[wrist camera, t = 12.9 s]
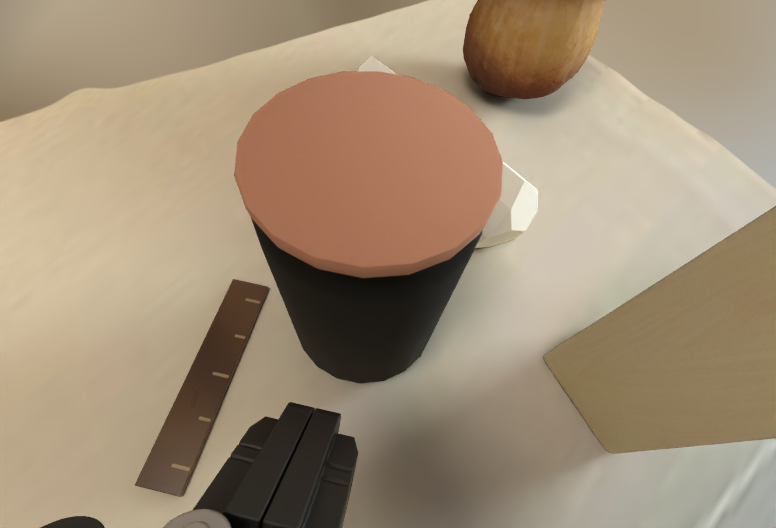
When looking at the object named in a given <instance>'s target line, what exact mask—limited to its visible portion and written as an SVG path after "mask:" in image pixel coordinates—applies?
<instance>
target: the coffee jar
mask: <svg viewBox="0 0 776 528" xmlns="http://www.w3.org/2000/svg"><path fill="white" fill-rule="evenodd" d="M502 170H503V161H502V159H501V156H500V153H499V151H498V148H497V145H496V142H495V140H494V137H493V134H492V133H491V132H490V130H489V129H488V128H487V127H486V126H485V124H484V123H483V122H482V121H481V119H480V118H479V117H478V116H477V115H476V113H475V112H474V111H473V110H472V109H471V108H469V107H468V106H466V105H465V104H464V103H462V102H461V101H459V100H458V99H456V98H455V97H454V96H452V95H451V94H449V93H448V92H446V91H445V90H442V89H440V88H437V87H435V86H432V85H430V84H428V83H425V82H423V81H420V80H418V79H415V78H412V77H407V76H401V75H396V74H390V73H385V72H380V71H360V72H339V73H334V74H330V75H325V76H320V77H316V78H311V79H308V80H306V81H303V82H301V83H299V84H297V85H295V86H293V87H290V88H288V89H286V90H284V91H282V92H280V93H278V94H277V95H275V96H274V97H273V98H272V99H271V100H270V101H268V102H267V103H266V104H265V105H264V106H263V107H261V108H260V109H259V110H258V111H257V112H256V113H254V114H253V116H252V118H251V119H250V121H249V123H248V125H247V126H246V128H245V130H244V132H243V133H242V135H241V137H240V139H239V140H238V145H237V154H236V164H235V173H234V176H235V179H236V181H237V184H238V187H239V190H240V193H241V196H242V199H243V201H244V204H245V207H246V209H247V211H248V213H249V214H250V216H251V219H252V222H253V225H254V228H255V230H256V233H257V236H258V239H259V242H260V244H261V247H262V250H263V252H264V255H265V257H266V260H267V262H268V264H269V267H270V269H271V272H272V274H273V277H274V279H275V281H276V284H277V286H278V289H279V291H280V294H281V296H282V298H283V301H284V303H285V306H286V308H287V311H288V313H289V316H290V318H291V320H292V323H293V325H294V328H295V330H296V333H297V335H298V337H299V340H300V342H301V345H302V347H303V350H304V351H305V352H306V353H307V354H308V356H309V357H310V358H311V359H312V360H313V362H314V363H315V364H316V365H317V366H318V367H319V368H321V369H322V370H324V371H326V372H327V373H329V374H331V375H332V376H334V377H336V378H338V379H343V380H347V381H352V382H356V383H368V382H377V381H384V380H386V379H388V378H391V377H393V376H395V375H397V374H399V373H402V372H404V371H405V370H406V369H407V368H408V367H409V366H410V365H411V364H412V363H414V362H415V361H416V360H417V359H418V358H419V357H420V356H421V354H422V352H423V350H424V348H425V346H426V344H427V342H428V340H429V338H430V337H431V335H432V333H433V331H434V329H435V327H436V325H437V323H438V321H439V319H440V317H441V315H442V313H443V311H444V309H445V307H446V305H447V303H448V301H449V299H450V297H451V295H452V293H453V291H454V289H455V287H456V285H457V283H458V281H459V279H460V277H461V275H462V273H463V271H464V269H465V267H466V265H467V263H468V261H469V259H470V257H471V255H472V253H473V251H474V249H475V247H476V245H477V243H478V241H479V239H480V237H481V235H482V230H483V228H484V227H485V225H486V223H487V221H488V219H489V217H490V216H491V214H492V212H493V210H494V208H495V206H496V204H497V202H498V200H499V198H500V196H501V189H502Z"/></svg>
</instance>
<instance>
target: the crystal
mask: <svg viewBox="0 0 776 528" xmlns="http://www.w3.org/2000/svg"><path fill="white" fill-rule="evenodd" d="M360 71H380V72H385V73H390V74H396V73H394V72H393V71H392V70H391V69H390V68H388V67H387V66H386V65H385V64H383V63H382V62H381V61H379V60H378V59H376V58H375V57H373V56H371V57H370V58H369V59H367V60H366V61H365V62H364V63H363V64H362V65H360V67H359V69H358V71H357V72H360ZM396 75H397V74H396ZM537 211H538V190H537V189H536V188H535V187H534V186H533V185H531V184H530V183H529V182H528V181H526V180H525V179H524V178H523V177H522V176H520V175H519V174H518V173H517V172H515V171H514V170H513V169H512V168H511V167H509V166H508V165H507V164H506V163H504V162H503V170H502V189H501V196H500V198H499V200H498V202H497V204H496V206H495V208H494V210H493V212H492V214H491V216H490V217H489V219H488V221H487V223H486V225H485V227H484V228H483V230H482V235H481V237H480V239H479V241H478V243H477V245H476V247H475V248H483V247H491V246H495V245H498V244H501V243H504V242H507V241H510V240H513V239H514V238H516V237H517V236H519V235H520V234H522V233H523V232H525V230H526V229H527V227H528V226H529V224H530V222H531V221H532V219H533V218H534V216H535V215H536V213H537Z"/></svg>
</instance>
